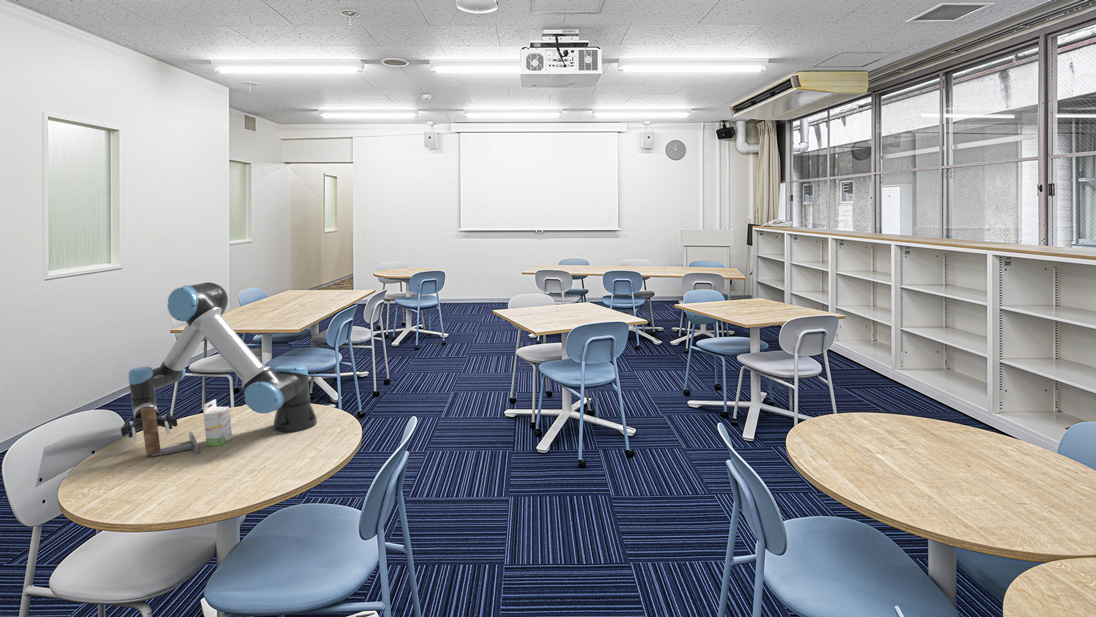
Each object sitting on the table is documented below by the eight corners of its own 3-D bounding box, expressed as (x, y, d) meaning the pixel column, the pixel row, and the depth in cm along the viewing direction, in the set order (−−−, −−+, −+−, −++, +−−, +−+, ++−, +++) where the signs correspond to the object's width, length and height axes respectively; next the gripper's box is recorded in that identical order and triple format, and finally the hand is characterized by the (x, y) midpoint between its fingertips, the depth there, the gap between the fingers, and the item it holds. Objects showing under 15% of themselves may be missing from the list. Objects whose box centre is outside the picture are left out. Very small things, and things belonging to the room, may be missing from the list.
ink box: (220, 446, 217) (215, 405, 215) (206, 446, 217) (201, 405, 215) (233, 437, 225) (229, 397, 223) (219, 437, 225) (215, 398, 223)
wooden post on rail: (192, 439, 223) (188, 396, 221) (198, 452, 210) (193, 407, 208) (145, 449, 215) (139, 404, 212) (148, 463, 202) (142, 416, 200)
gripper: (182, 420, 229) (190, 437, 211) (111, 433, 217) (113, 452, 199) (180, 400, 228) (187, 415, 210) (108, 412, 216) (110, 429, 198)
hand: (151, 433), depth 204 cm, fingers open, 9 cm apart
